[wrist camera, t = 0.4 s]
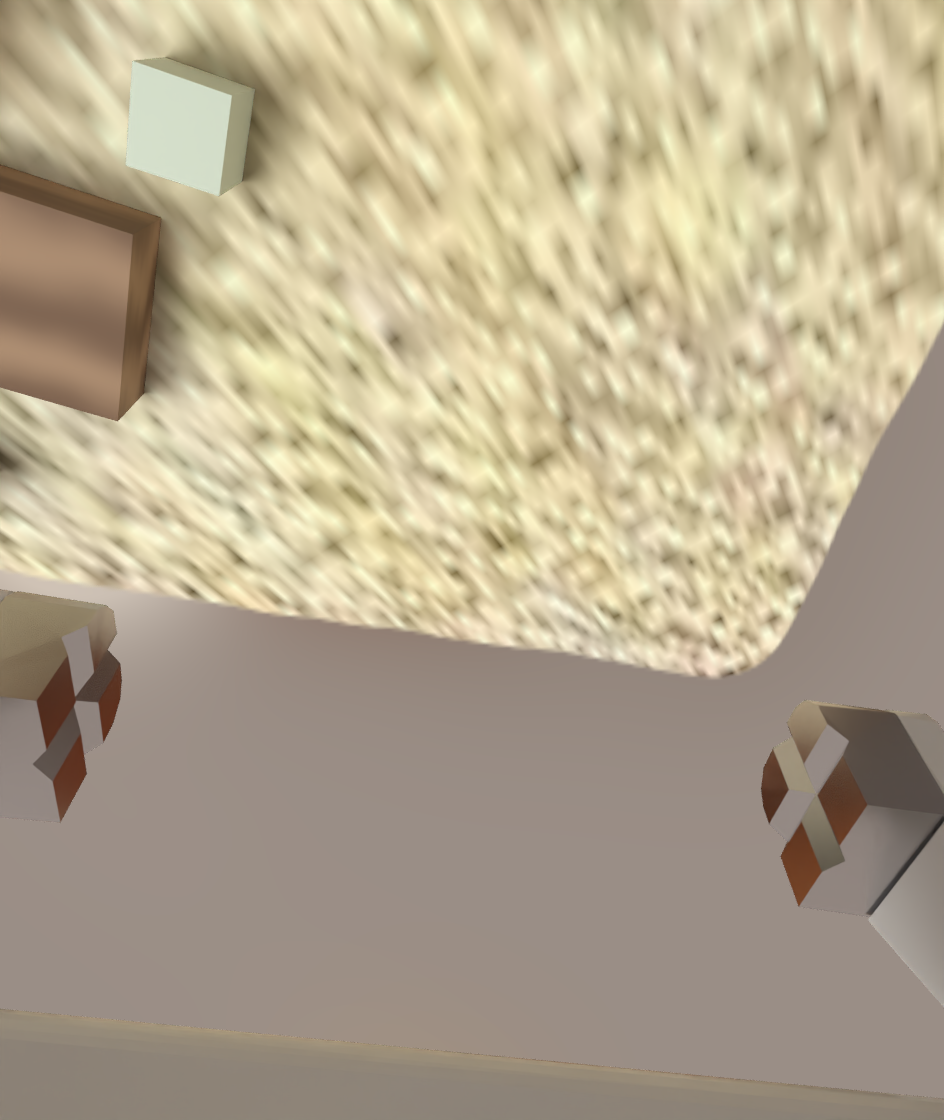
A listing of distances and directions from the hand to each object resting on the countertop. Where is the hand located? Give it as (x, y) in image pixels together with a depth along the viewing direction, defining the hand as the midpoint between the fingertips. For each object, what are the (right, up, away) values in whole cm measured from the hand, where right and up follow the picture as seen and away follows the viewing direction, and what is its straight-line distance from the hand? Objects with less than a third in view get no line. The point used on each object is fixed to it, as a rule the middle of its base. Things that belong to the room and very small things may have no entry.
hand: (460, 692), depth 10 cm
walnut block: (-27, +20, +42) cm, 53 cm away
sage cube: (-15, +27, +36) cm, 48 cm away
